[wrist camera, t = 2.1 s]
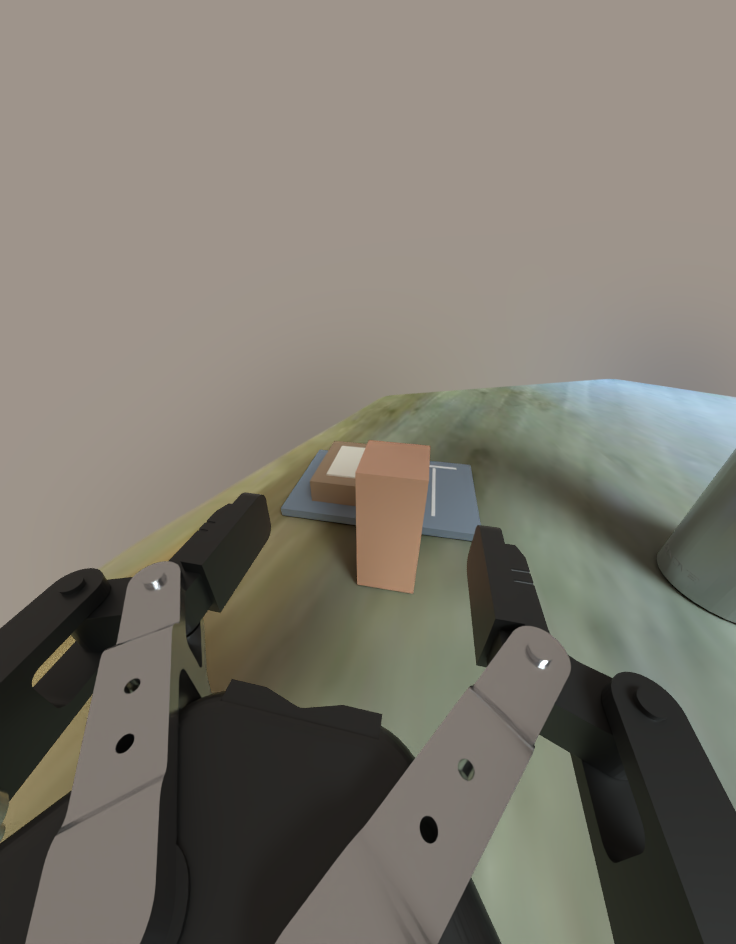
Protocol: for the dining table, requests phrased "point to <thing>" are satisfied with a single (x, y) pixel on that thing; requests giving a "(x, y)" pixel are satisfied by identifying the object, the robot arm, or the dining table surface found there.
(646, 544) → the dining table surface
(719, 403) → the dining table surface
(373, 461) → the terracotta pillar
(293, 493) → the blueprint board
